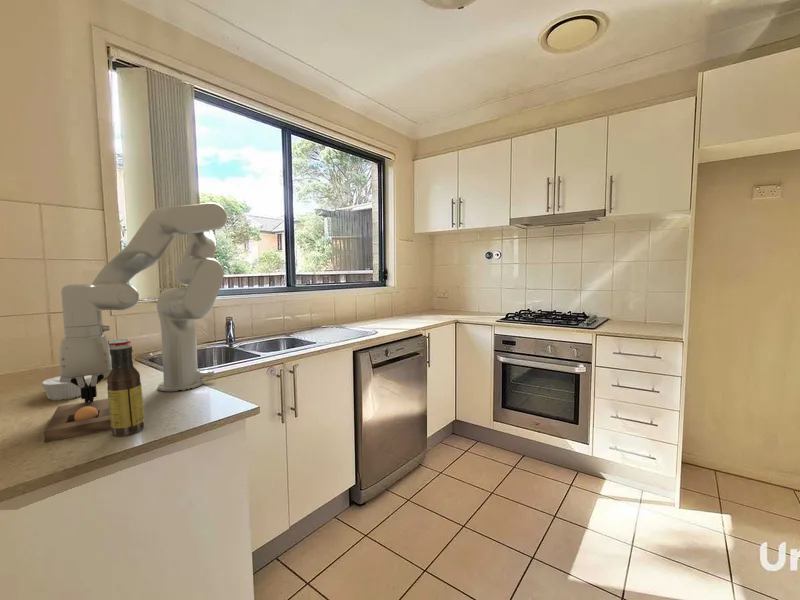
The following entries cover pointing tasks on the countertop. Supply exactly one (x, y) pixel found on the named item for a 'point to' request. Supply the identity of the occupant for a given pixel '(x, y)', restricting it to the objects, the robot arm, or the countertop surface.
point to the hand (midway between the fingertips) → (89, 400)
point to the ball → (86, 413)
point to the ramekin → (62, 388)
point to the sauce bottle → (124, 393)
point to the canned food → (119, 342)
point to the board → (68, 427)
